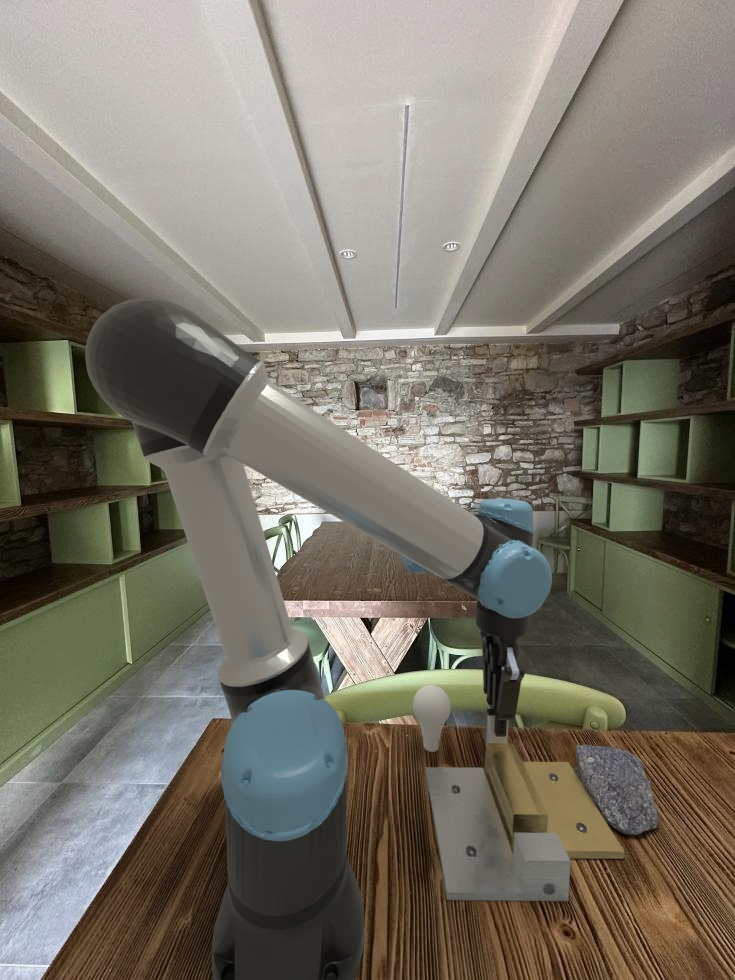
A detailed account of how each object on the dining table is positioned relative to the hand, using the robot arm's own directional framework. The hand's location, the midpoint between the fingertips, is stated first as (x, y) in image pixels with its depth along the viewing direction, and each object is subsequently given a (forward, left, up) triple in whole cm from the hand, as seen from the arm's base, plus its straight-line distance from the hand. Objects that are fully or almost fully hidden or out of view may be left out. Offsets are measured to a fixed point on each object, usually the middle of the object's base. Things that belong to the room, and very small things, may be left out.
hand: (496, 748), depth 62 cm
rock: (+16, -5, -4) cm, 18 cm away
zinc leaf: (-4, -6, -4) cm, 8 cm away
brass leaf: (+5, -7, -3) cm, 9 cm away
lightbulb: (-10, +4, -4) cm, 11 cm away
